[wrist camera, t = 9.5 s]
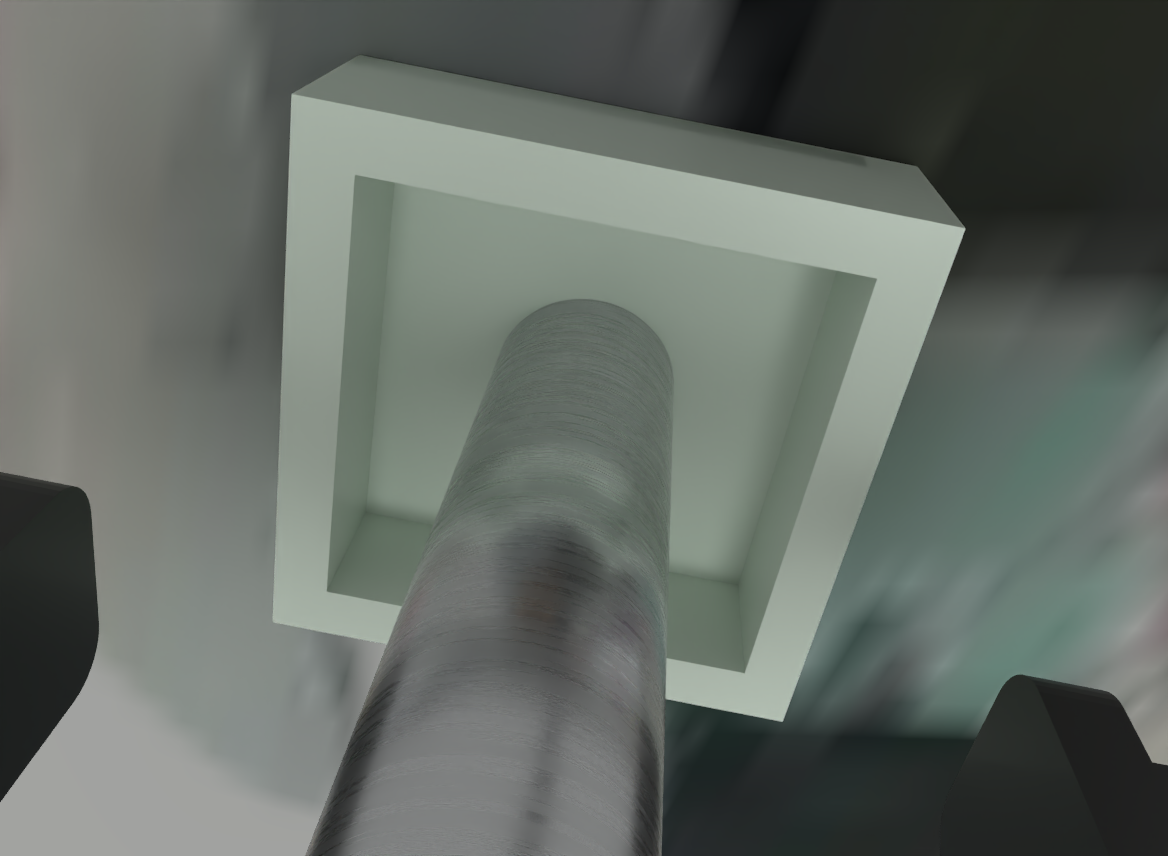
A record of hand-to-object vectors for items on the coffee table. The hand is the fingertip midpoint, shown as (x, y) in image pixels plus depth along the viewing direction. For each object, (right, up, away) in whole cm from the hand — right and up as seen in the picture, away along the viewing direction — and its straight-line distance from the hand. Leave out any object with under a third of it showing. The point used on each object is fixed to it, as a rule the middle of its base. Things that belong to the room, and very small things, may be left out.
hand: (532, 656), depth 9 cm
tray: (+1, +3, +5) cm, 6 cm away
